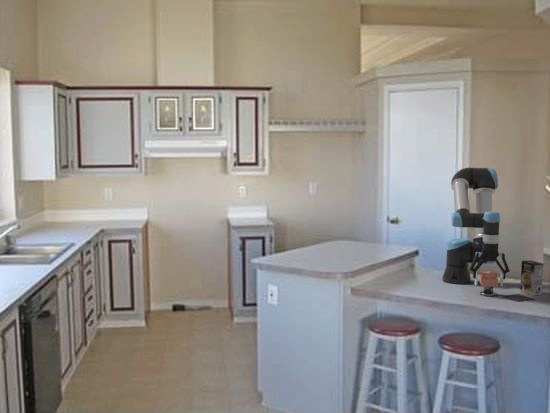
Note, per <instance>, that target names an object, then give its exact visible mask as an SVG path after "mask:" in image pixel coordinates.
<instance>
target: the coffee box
mask: <svg viewBox="0 0 550 413" xmlns="http://www.w3.org/2000/svg"><path fill="white" fill-rule="evenodd" d="M543 278H544V263H543V262H538V261H534V260H522V261H521V271H520V286H519V287H520V289H519V292H521V293H524V294H527V295H529V294H530V295H529V296H541V295H542V293H543V280H544V279H543Z"/></svg>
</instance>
